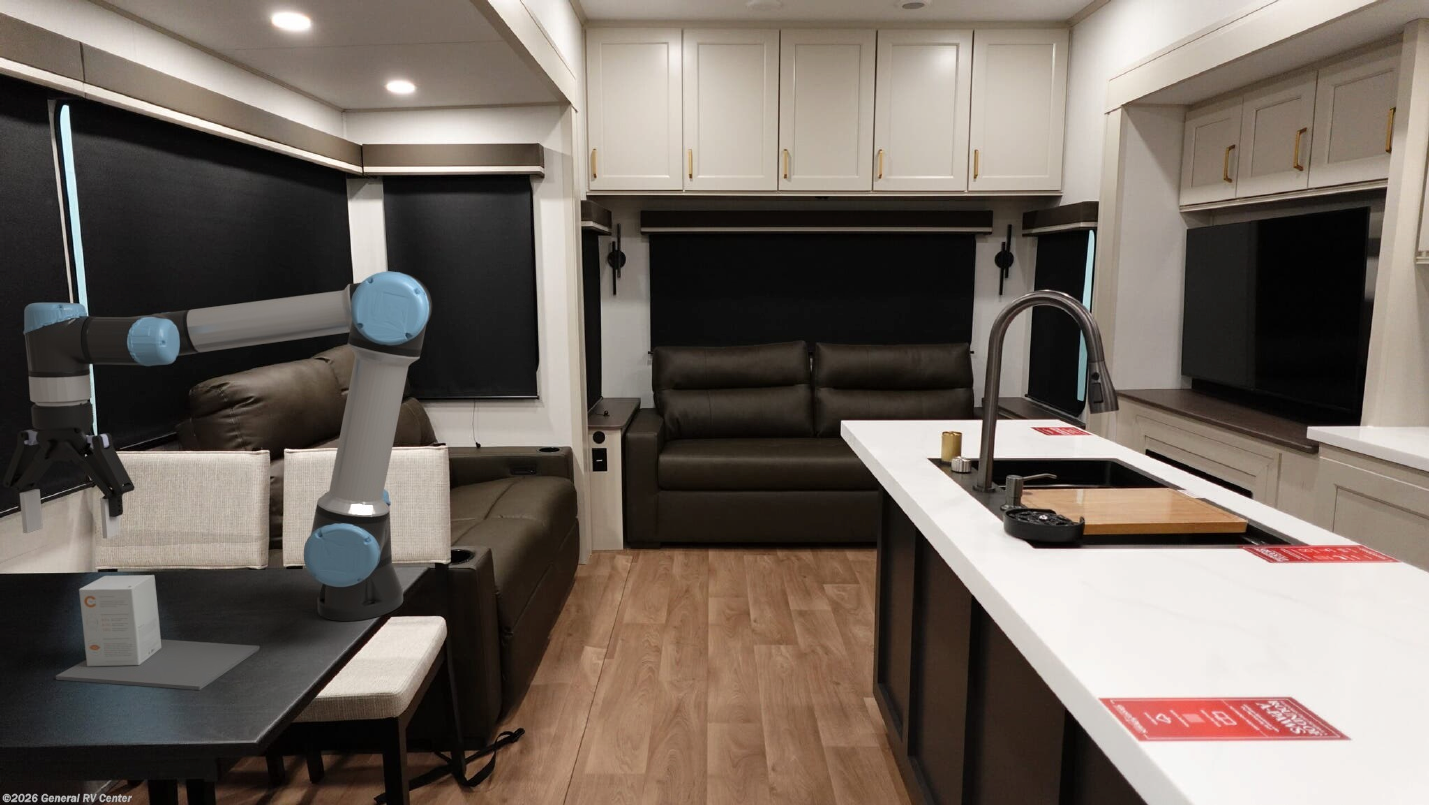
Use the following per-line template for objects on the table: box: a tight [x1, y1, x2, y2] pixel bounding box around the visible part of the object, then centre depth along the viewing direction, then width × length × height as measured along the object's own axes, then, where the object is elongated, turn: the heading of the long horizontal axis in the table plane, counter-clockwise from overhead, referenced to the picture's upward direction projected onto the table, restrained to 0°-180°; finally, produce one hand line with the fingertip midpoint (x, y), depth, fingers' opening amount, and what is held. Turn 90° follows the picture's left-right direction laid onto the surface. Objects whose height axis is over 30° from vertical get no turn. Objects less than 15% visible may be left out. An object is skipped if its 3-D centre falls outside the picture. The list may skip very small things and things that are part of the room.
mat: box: [55, 638, 261, 691], centre depth 132 cm, size 24×14×1 cm, turn 84°
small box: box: [78, 574, 162, 666], centre depth 132 cm, size 8×6×13 cm
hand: (72, 533), depth 130 cm, fingers open, 13 cm apart
